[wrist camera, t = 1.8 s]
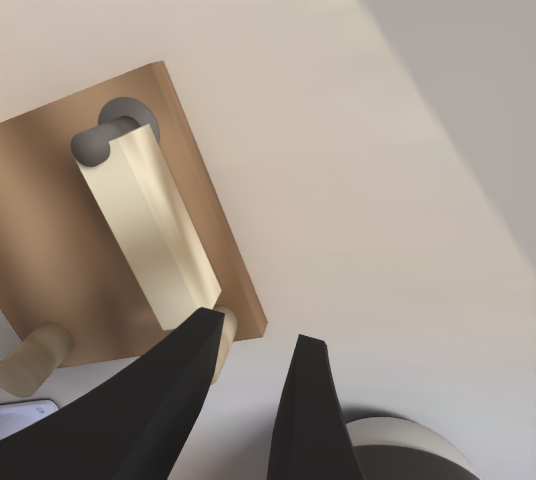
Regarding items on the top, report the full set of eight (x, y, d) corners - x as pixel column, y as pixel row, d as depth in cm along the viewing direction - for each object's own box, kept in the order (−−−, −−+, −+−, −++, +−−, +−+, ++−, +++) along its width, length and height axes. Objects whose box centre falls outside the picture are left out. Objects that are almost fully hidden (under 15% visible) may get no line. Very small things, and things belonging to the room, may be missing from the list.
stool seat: (54, 356, 26) (2, 414, 22) (-77, 155, 22) (-173, 184, 18) (267, 322, 22) (247, 385, 18) (163, 60, 17) (106, 71, 13)
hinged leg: (101, 123, 18) (55, 141, 15) (142, 108, 17) (102, 124, 14) (184, 297, 21) (158, 338, 18) (221, 290, 20) (200, 331, 17)
